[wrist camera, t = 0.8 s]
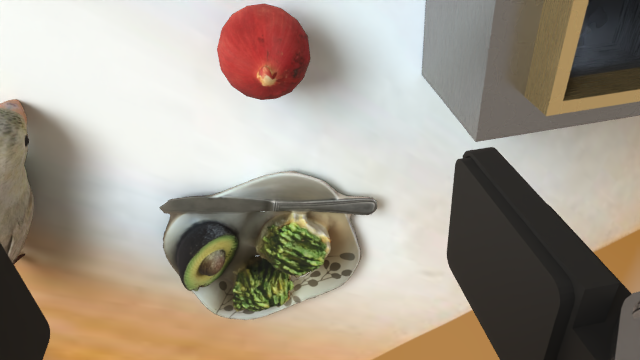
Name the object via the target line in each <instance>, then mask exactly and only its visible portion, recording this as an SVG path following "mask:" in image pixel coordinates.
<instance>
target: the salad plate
mask: <svg viewBox="0 0 640 360" xmlns="http://www.w3.org/2000/svg"><path fill="white" fill-rule="evenodd" d="M159 208H160V209H161V210H162V211H163V212H164V213H168V214H170V220H169V222H168V225H167V227H166V231H165V232H164V237H163V241H164V243H163V248H164V251H165V254H166V257H167V259H168V261H169V262H170V264H171V265H172V267H173V268H174V269H175V271H176V272H177V273H178V274H179V276H180V278H181V281H182V283H183V285H184V287H185V288H186V289H187V290H189V291H192V292H193V293H194V294H195V295H196V296H197V298H198V299H199V300H200V301H201V303H202V304H203V305H204V306H205V307H206V308H207V309H209V310H210V311H211V312H213V313H214V314H216V315H219V316H221V317H225V318H230V319H243V320H248V319H256V318H260V317H264V316H267V315H270V314H272V313H275V312H277V311H280V310H282V309H285V308H287V307H290V306H292V305H294V304H297V303H300V302H302V301H304V300H307V299H311V298H315V297H317V296H319V295H321V294H324V293H327V292H329V291H331V290H334V289H336V288H338V287H340V286H341V285H343V284H344V283H345V282H346V281H347V280H348V279H349V278H350V277H351V275H352V274H353V272H354V270H355V269H356V267H357V265H358V263H359V261H360V258H361V249H360V247H359V245H358V241H357V237H356V233H355V231H354V229H353V226H352V224H351V218H350V217H351V215H352V214H357V215H369V214H372V213H373V212H374V211H375V210H376V209H377V202H376V200H375V199H373V198H370V197H354V196H345V195H342V194H340V193H338V192H337V191H336V190H335V189H333V188H332V187H331V186H330V185H329V184H327V183H326V182H325V181H323V180H321V179H317V178H315V177H312V176H308V175H304V174H301V173H298V172H295V171H288V172H279V173H274V174H270V175H265V176H261V177H258V178H255V179H252V180H250V181H248V182H245V183H243V184H240V185H238V186H235V187H232V188H230V189H227V190H225V191H222V192H219V193H216V194H213V195H208V196H192V197H184V198H176V199H171V200H169V201H168V202H167V203H165V204H164V205H162V206H161V207H159ZM260 211H265V212H260ZM255 255H260V256H258V257H256V256H255ZM310 271H311V272H310ZM308 272H310V273H308ZM306 273H308V274H307V275H306V276H304V277H302V278H300V279H298V280H296V281H293V282H292V281H291V280H290V278H291V275H294V276H296V277H298V278H299V277H300V276H301V275H305V274H306Z"/></svg>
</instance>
